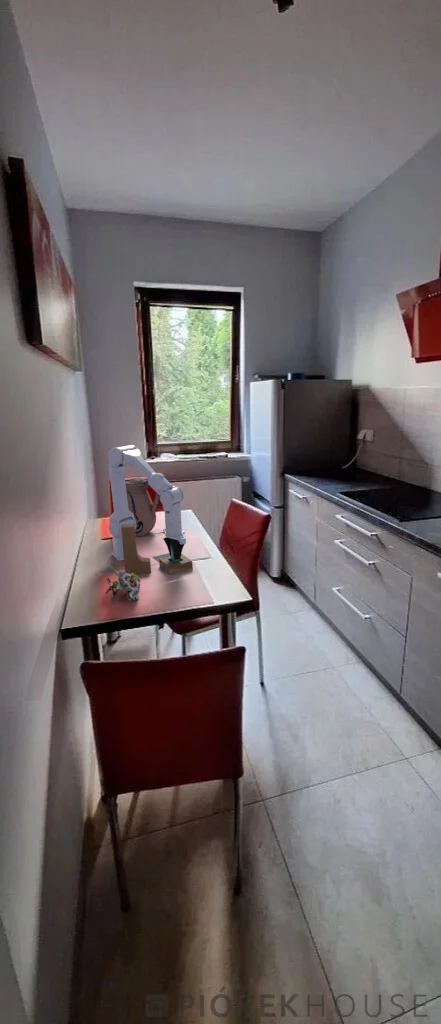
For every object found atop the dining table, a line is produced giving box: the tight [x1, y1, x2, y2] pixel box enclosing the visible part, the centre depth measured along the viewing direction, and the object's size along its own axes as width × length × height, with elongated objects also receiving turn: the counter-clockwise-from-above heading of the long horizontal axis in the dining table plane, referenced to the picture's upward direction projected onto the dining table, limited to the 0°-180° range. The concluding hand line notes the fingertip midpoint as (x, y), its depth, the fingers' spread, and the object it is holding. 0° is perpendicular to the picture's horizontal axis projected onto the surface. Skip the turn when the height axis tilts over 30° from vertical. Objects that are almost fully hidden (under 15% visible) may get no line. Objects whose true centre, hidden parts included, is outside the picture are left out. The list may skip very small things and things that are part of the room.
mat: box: [152, 552, 170, 563], centre depth 165 cm, size 8×8×1 cm
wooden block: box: [121, 524, 152, 575], centre depth 150 cm, size 9×4×18 cm, turn 101°
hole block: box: [158, 553, 194, 575], centre depth 155 cm, size 9×9×4 cm
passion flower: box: [105, 569, 141, 602], centre depth 133 cm, size 11×11×12 cm
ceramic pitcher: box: [125, 477, 160, 537], centre depth 192 cm, size 18×21×25 cm
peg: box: [171, 540, 180, 563], centre depth 154 cm, size 3×3×9 cm
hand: (175, 557), depth 154 cm, fingers closed on peg, 3 cm apart
